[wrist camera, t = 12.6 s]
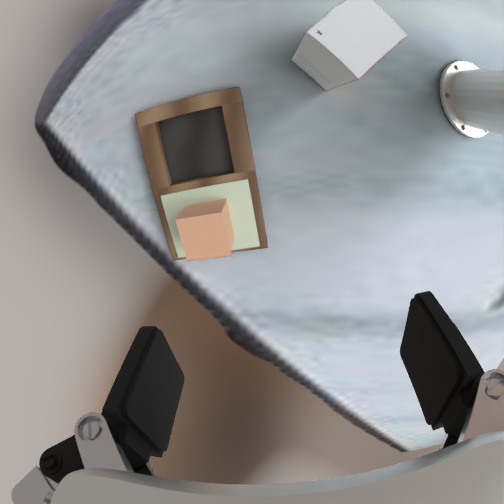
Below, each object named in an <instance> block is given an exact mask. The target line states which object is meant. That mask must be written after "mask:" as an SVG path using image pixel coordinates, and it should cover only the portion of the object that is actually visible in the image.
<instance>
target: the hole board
mask: <svg viewBox="0 0 504 504" xmlns="http://www.w3.org/2000/svg"><path fill="white" fill-rule="evenodd" d="M220 106H222V107H220ZM215 107H219V108H215ZM211 108H214V109H211ZM206 109H209V110H206ZM202 110H205V111H202ZM198 111H201V112H198ZM193 112H196V113H193ZM189 113H192V114H189ZM185 114H188V115H185ZM182 115H184V116H182ZM178 116H180V117H178ZM135 117H136V122H137V127H138V131H139V136H140V140H141V145H142V149H143V153H144V157H145V162H146V166H147V170H148V174H149V177H150V181H151V185H152V189H153V193H154V196H155V200H156V204H157V207H158V211H159V214H160V218H161V221H162V224H163V228H164V231H165V234H166V238H167V241H168V244H169V247H170V251H171V254H172V257H173V260H174V261H175V260H182V259H186V256H185V252H184V249H183V245H182V242H181V238H180V234H179V231H178V227H177V223H176V219H177V217H178V216H179V215H180V213H181V212H182V211H183V210H184V208H185V207H186V206H187V205H192V204H197V203H203V202H209V201H215V200H222V199H227V201H228V206H229V211H230V216H231V222H232V227H233V232H234V242H233V246H232V251H231V253H233V252H240V251H247V250H254V249H262V248H268V246H267V237H266V231H265V225H264V219H263V213H262V207H261V202H260V196H259V190H258V184H257V178H256V173H255V167H254V161H253V156H252V150H251V144H250V139H249V133H248V128H247V122H246V117H245V111H244V106H243V101H242V95H241V90H240V87H234V88H229V89H224V90H219V91H214V92H210V93H206V94H201V95H197V96H193V97H189V98H185V99H181V100H178V101H174V102H171V103H167V104H164V105H160V106H157V107H154V108H151V109H148V110H144V111H141V112H139V113H136V114H135ZM174 117H177V118H174ZM170 118H173V119H170ZM167 119H169V120H167ZM163 120H166V121H163ZM160 121H162V122H160ZM159 125H160V127H159ZM160 130H161V132H160ZM161 134H162V136H161ZM162 139H163V141H162ZM163 143H164V145H163ZM164 148H165V150H164ZM165 152H166V154H165ZM166 157H167V159H166ZM167 161H168V163H167ZM168 165H169V167H168ZM169 169H170V171H169ZM231 171H235V172H231ZM226 172H229V173H226ZM220 173H223V174H220ZM170 174H171V175H170ZM215 174H218V175H215ZM209 175H213V176H209ZM204 176H207V177H204ZM199 177H202V178H199ZM171 178H172V179H171ZM194 178H197V179H194ZM190 179H192V180H190ZM185 180H188V181H185ZM180 181H183V182H180ZM172 182H173V183H174V184H173V183H172ZM176 182H178V183H176Z"/></svg>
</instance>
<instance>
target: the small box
mask: <svg viewBox="0 0 504 504" xmlns="http://www.w3.org/2000/svg"><path fill="white" fill-rule="evenodd" d="M405 37H407V34H406V33H405V32H404V31H403V30H402V29H401V28H400V27H399V26H398V25H397V24H396V23H395V22H394V21H393V19H392V18H391V17H389V16H388V15H387V14H386V13H385V12H384V11H383V10H382V9H381V8H380V7H379V6H378V5H377V4H376V3H375V2H374V1H373V0H345V1H343V2H342V3H340V4H339V5H338V6H336V7H335V8H333V9H332V10H331V11H330V12H328V13H327V14H326V15H325V16H324V17H323V18H322V19H320V20H319V21H318V22H317V23H316V24H314V25H313V26H312V27H311V28H310V29H309V30H308V31H307V32H306V33H305V35H304V37H303V39H302V40H301V42H300V44H299V46H298V48H297V50H296V52H295V54H294V55H293V57H292V59H291V60H292V61H293V62H294V63H296V64H297V65H298V66H299V67H300V68H301V69H303V70H304V71H305V72H306V73H307V74H308V75H310V76H311V77H312V78H313V79H314V80H315V81H316V82H317V83H318V84H319V85H320V86H321V87H323V88H324V89H325V90H326V91H328V90H331V89H333V88H336V87H338V86H341V85H344V84H346V83H349V82H352V81H355V80H358V79H360V78H361V77H362V76H363V75H365V74H366V73H367V72H368V71H369V70H370V69H371V68H372V67H373V66H374V65H375V64H377V63H378V62H379V61H380V60H381V59H382V58H383V57H384V56H385V55H386V54H388V53H389V52H390V51H391V50H392V49H393V48H394V47H395V46H396V45H397V44H399V43H400V42H401V41H402V40H403V39H404V38H405Z"/></svg>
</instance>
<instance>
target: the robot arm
mask: <svg viewBox="0 0 504 504" xmlns="http://www.w3.org/2000/svg"><path fill="white" fill-rule="evenodd" d="M440 98H441V102H442V106H443V109H444V111H445V114H446V116H447V118H448V119H449V121H450V122H451V124H452V125H453V126H454V127H455V128H456V130H458V131H459V132H460V133H461V134H463V135H465V136H468V137H472V138H479V137H483V136H485V135H486V134H487V133H488V132H494V133H498V134H502V135H504V68H484V69H479V68H478V67H477V66H475V65H474V64H472V63H470V62H467V61H455V62H452V63H450V64H449V65H447V67H446V68H445V69H444V71H443V73H442V75H441V80H440ZM400 354H401V358H402V360H403V363H404V365H405V367H406V370H407V372H408V375H409V377H410V380H411V382H412V385H413V387H414V390H415V392H416V395H417V398H418V400H419V403H420V406H421V408H422V411H423V414H424V417H425V420H426V422H427V424H428V425H431V426H432V429H433V430H436V429H439V428H441V427H444V430H445V433H446V434H445V437H444V439H443V442H442V444H441V446H440V449H439V450H438V451H436V452H433V453H430V454H428V455H425V456H422V457H419V458H416V459H412V460H409V461H406V462H403V463H399V464H396V465H392V466H389V467H385V468H381V469H378V470H373V471H369V472H364V473H360V474H355V475H350V476H344V477H339V478H332V479H326V480H318V481H310V482H300V483H288V484H272V485H271V484H269V485H231V484H212V483H200V482H191V481H182V480H175V479H168V478H161V477H157V476H156V474H155V472H154V470H153V469H152V467H151V465H150V463H149V458H150V456H155V457H162V454H163V452H165V451H166V450H167V447H168V444H169V440H170V435H171V431H172V427H173V423H174V419H175V415H176V411H177V407H178V403H179V399H180V396H181V392H182V388H183V384H184V374H183V372H182V370H181V368H180V366H179V364H178V363H177V361H176V359H175V357H174V355H173V353H172V351H171V349H170V347H169V345H168V343H167V341H166V339H165V336H164V334H163V332H162V331H161V330H158V328H157V327H156V326H145V327H141V328H140V329H139V331H138V333H137V335H136V337H135V339H134V341H133V343H132V345H131V347H130V350H129V352H128V354H127V356H126V358H125V360H124V363H123V364H122V366H121V369H120V371H119V373H118V375H117V377H116V379H115V382H114V384H113V386H112V388H111V391H110V393H109V395H108V397H107V400H106V402H105V404H104V407H103V409H102V410H103V411H102V414H99V413H95V412H93V413H92V412H90V413H88V414H85V415H83V416H82V417H81V418H80V419H79V420H78V421H77V423H76V425H75V429H74V433H75V435H73V436H72V437H70V438H68V439H66V440H64V441H62V442H60V443H58V444H57V445H55V446H53V447H51V448H49V449H47V450H46V451H45V452H44V453H43V454H42V455H41V458H40V463H39V465H40V468H39V467H37V466H36V467H35V468H34V469H33V470H31V471H30V472H29V473H28V474H27V475H26V476H25V477H24V478H23V479H22V480H21V481H20V482H19V483H18V484H17V485H16V486H15V487H14V488H13V490H12V500H13V503H14V504H504V372H503V371H501V370H497V369H493V370H489V371H487V372H484V371H483V369H482V367H481V365H480V364H479V362H478V360H477V359H476V357H475V355H474V354H473V352H472V350H471V349H470V347H469V346H468V344H467V342H466V341H465V339H464V338H463V336H462V335H461V333H460V332H459V330H458V328H457V327H456V325H455V324H454V323H453V322H452V321H451V319H450V318H449V316H448V315H447V314H446V312H445V311H444V309H443V308H442V306H441V305H440V304H439V302H438V301H437V299H436V298H435V297H434V295H433V294H432V293H431V292H430V291H427V292H422V293H418V294H416V295H415V296H414V298H413V299H411V301H410V307H409V312H408V317H407V322H406V326H405V331H404V335H403V339H402V344H401V348H400Z"/></svg>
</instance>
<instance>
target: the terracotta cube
mask: <svg viewBox="0 0 504 504" xmlns="http://www.w3.org/2000/svg"><path fill="white" fill-rule="evenodd" d="M176 223H177V227H178V231H179V234H180V238H181V242H182V245H183V249H184V252H185V256H186V259H187V261H192V260H200V259H208V258H216V257H224V256H230V255H231V251H232V246H233V242H234V232H233V227H232V222H231V216H230V211H229V206H228V201H227V199H222V200H215V201H209V202H203V203H197V204H192V205H187V206H186V207H185V208H184V210H183V211H182V212H181V213H180V215H179V216H178V217H177V219H176Z"/></svg>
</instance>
